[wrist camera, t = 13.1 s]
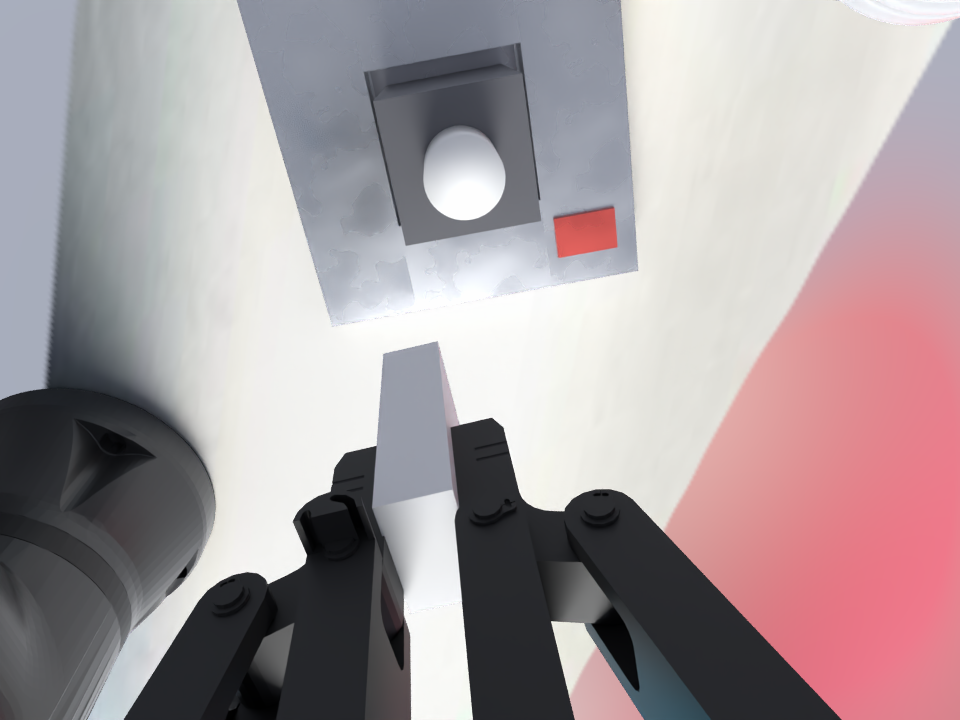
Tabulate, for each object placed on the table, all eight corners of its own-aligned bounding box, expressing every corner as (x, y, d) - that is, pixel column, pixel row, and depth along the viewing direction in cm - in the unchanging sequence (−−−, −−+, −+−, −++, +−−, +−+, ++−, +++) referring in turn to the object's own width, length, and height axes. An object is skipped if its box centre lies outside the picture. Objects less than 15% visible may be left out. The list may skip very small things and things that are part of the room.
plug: (411, 200, 34) (402, 269, 24) (386, 85, 32) (365, 110, 22) (517, 180, 34) (553, 242, 24) (501, 63, 31) (533, 78, 22)
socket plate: (338, 308, 37) (331, 327, 34) (244, -21, 30) (228, -26, 27) (625, 255, 37) (639, 271, 34) (600, -89, 30) (615, -100, 27)
